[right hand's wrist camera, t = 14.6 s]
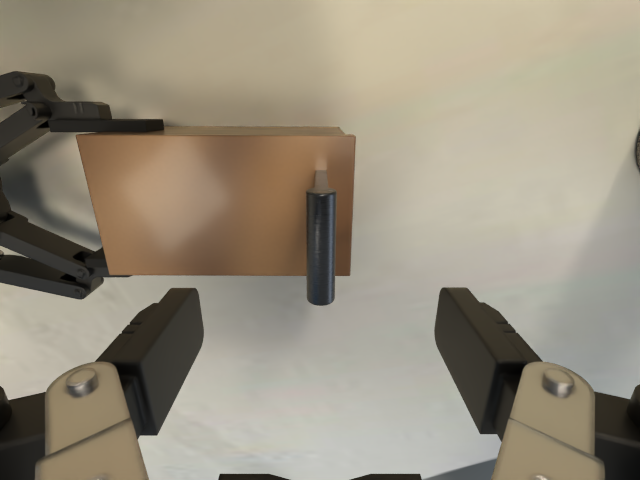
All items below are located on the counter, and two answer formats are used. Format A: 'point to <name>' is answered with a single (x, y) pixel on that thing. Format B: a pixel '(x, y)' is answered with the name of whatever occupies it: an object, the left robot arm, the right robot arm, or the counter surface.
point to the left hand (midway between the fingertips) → (166, 195)
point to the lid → (224, 204)
